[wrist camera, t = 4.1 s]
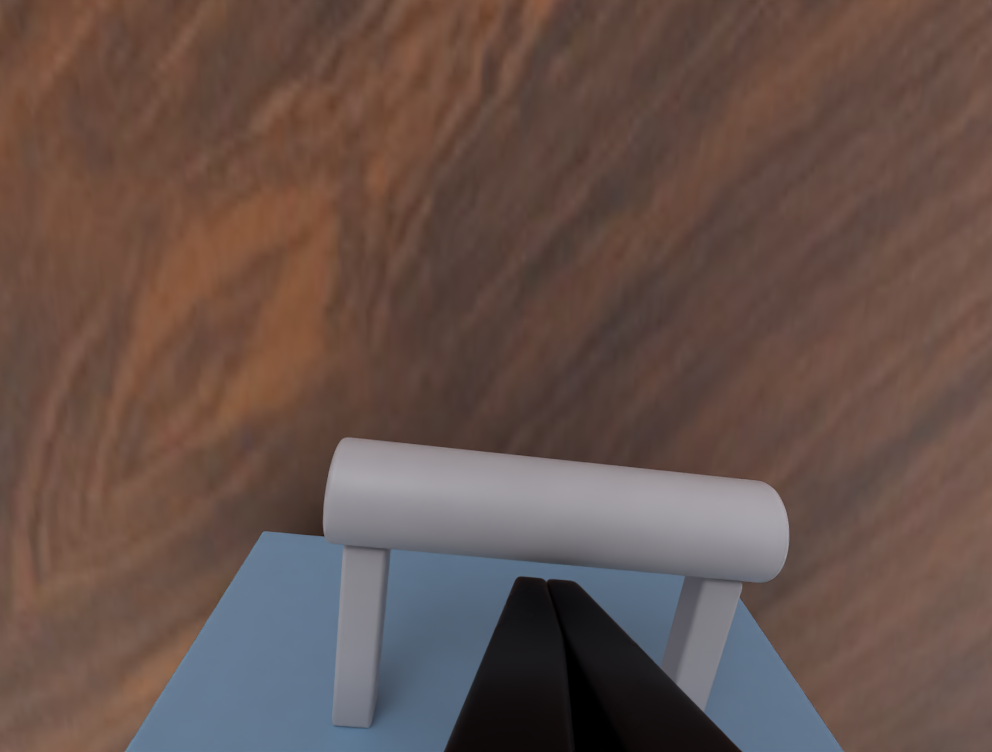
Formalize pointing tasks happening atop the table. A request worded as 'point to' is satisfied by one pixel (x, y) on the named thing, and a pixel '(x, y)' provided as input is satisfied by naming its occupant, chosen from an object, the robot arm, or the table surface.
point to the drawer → (480, 601)
